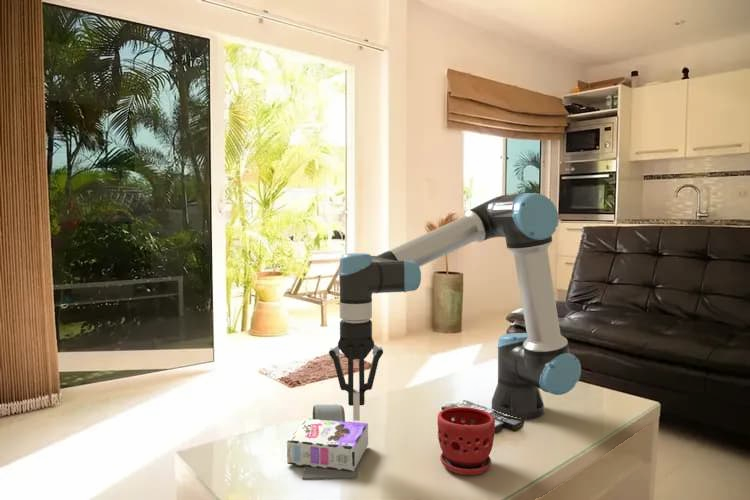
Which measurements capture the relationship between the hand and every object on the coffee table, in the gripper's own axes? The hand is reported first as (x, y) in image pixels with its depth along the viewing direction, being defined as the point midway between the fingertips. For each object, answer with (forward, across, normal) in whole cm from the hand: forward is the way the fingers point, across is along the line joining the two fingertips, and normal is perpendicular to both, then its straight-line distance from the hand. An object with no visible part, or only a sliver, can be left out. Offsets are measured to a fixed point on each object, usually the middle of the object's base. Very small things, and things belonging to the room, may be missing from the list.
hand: (356, 418), depth 119 cm
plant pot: (+11, -25, +3) cm, 28 cm away
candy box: (+7, -2, -1) cm, 7 cm away
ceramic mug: (+11, +8, -18) cm, 23 cm away
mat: (+10, +6, 0) cm, 12 cm away
